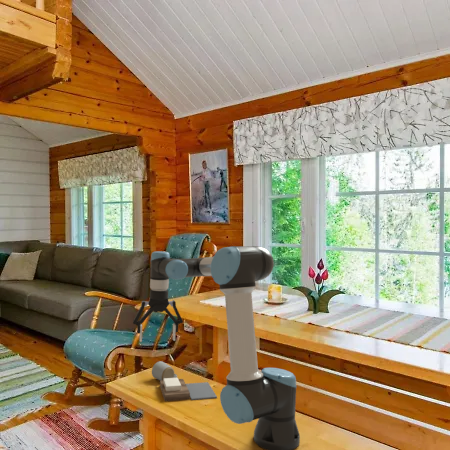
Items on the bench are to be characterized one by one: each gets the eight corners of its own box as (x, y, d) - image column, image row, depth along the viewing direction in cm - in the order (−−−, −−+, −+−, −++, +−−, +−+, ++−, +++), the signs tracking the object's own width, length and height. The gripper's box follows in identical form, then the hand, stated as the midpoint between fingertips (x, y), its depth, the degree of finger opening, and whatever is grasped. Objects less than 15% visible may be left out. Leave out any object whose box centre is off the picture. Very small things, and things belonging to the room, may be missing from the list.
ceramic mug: (162, 385, 192) (162, 367, 192) (150, 379, 198) (151, 362, 198) (181, 379, 200) (181, 362, 200) (169, 374, 205) (170, 358, 205)
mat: (216, 398, 180) (216, 396, 180) (191, 400, 177) (191, 398, 177) (207, 383, 196) (207, 382, 196) (184, 385, 193) (184, 383, 193)
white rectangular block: (181, 390, 181) (181, 385, 181) (166, 391, 179) (166, 386, 179) (177, 382, 189) (177, 377, 189) (163, 383, 188) (163, 378, 188)
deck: (189, 399, 178) (189, 393, 178) (164, 401, 176) (165, 395, 176) (182, 384, 194) (182, 378, 194) (159, 386, 191) (159, 380, 191)
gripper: (187, 287, 189) (185, 336, 190) (127, 287, 183) (126, 338, 184) (190, 290, 182) (188, 342, 182) (128, 291, 176) (126, 344, 176)
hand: (157, 340), depth 183 cm, fingers open, 13 cm apart
